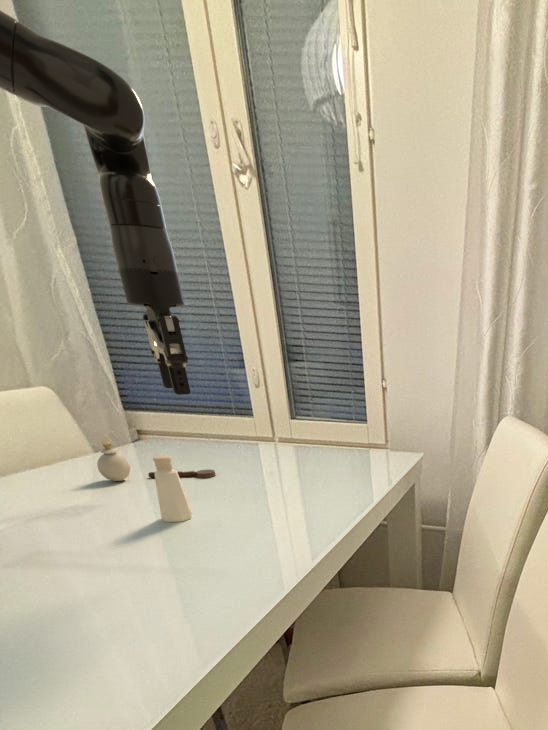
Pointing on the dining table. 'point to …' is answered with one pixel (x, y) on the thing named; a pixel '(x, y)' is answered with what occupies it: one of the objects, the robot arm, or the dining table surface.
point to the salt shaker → (170, 492)
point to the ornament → (112, 463)
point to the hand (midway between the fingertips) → (177, 390)
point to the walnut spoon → (191, 474)
